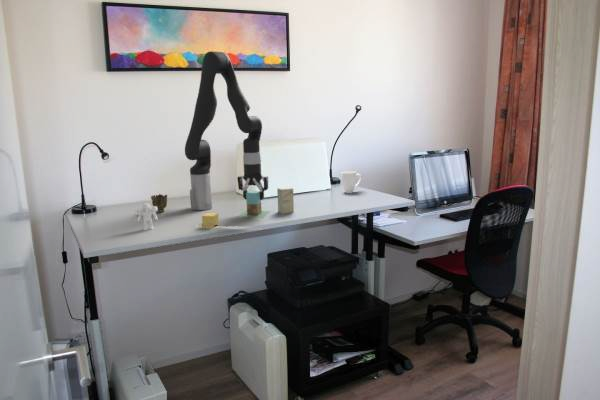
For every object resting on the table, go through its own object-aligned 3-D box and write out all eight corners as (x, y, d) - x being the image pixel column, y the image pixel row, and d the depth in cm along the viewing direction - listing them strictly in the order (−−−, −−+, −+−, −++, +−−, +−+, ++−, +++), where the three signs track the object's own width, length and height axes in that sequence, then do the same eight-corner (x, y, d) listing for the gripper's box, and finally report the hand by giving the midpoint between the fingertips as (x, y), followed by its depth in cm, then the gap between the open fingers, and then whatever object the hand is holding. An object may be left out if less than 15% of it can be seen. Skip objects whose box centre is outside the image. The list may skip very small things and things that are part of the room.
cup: (171, 210, 227) (170, 194, 226) (161, 214, 221) (159, 197, 219) (159, 209, 230) (158, 193, 229) (149, 213, 224) (147, 196, 222)
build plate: (237, 219, 208) (236, 216, 208) (246, 212, 220) (246, 210, 219) (262, 220, 205) (262, 217, 205) (271, 213, 217) (271, 211, 216)
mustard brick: (202, 227, 197) (201, 215, 196) (208, 224, 202) (207, 212, 201) (213, 228, 196) (212, 216, 195) (218, 224, 201) (218, 213, 199)
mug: (346, 194, 254) (346, 173, 252) (338, 192, 262) (338, 171, 259) (365, 192, 259) (365, 171, 257) (357, 189, 266) (357, 169, 264)
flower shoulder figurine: (159, 226, 200) (156, 198, 197) (160, 228, 196) (157, 200, 194) (136, 229, 196) (133, 201, 194) (137, 231, 193) (134, 202, 190)
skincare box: (281, 216, 212) (280, 189, 209) (277, 214, 215) (276, 188, 213) (294, 214, 214) (293, 188, 212) (290, 212, 218) (289, 186, 216)
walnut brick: (247, 215, 211) (246, 204, 209) (251, 212, 215) (250, 201, 214) (257, 215, 209) (257, 204, 208) (261, 212, 214) (261, 202, 213)
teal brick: (246, 204, 209) (246, 193, 208) (250, 201, 214) (250, 190, 213) (257, 204, 208) (256, 193, 207) (260, 202, 213) (260, 191, 212)
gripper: (233, 163, 205) (235, 200, 209) (264, 163, 202) (266, 201, 205) (239, 161, 213) (241, 197, 216) (270, 161, 209) (271, 198, 213)
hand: (253, 199), depth 211 cm, fingers open, 6 cm apart
